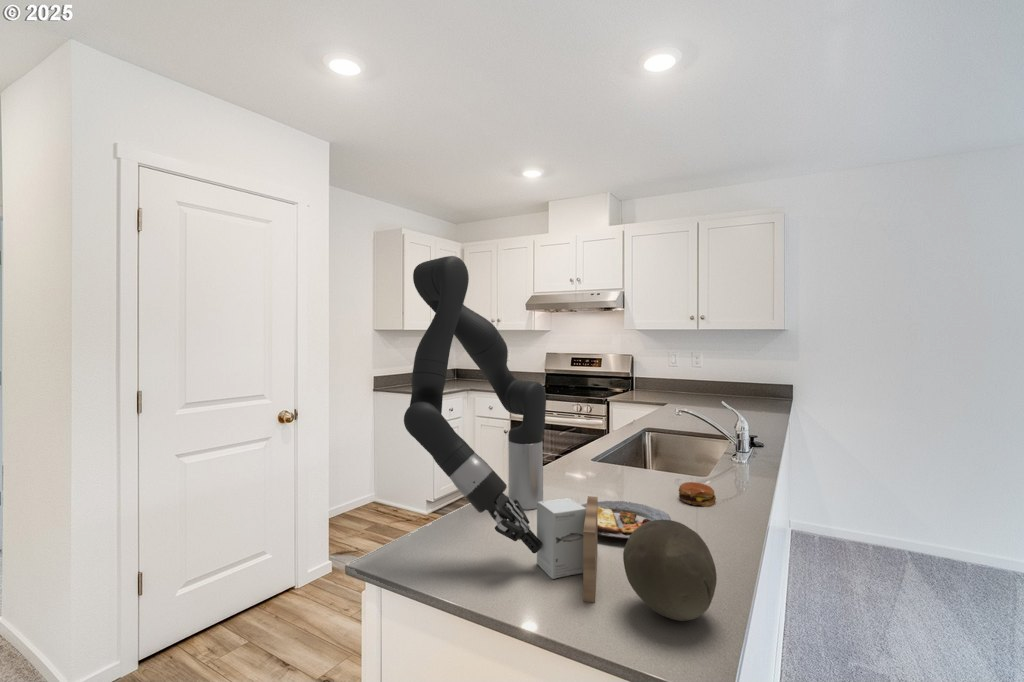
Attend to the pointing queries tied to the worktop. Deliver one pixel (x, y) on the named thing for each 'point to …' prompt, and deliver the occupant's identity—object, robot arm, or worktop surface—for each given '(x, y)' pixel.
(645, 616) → the worktop surface
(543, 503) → the supplement box
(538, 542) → the robot arm
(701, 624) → the worktop surface
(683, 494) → the burger
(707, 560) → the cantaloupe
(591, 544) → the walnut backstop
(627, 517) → the food plate
